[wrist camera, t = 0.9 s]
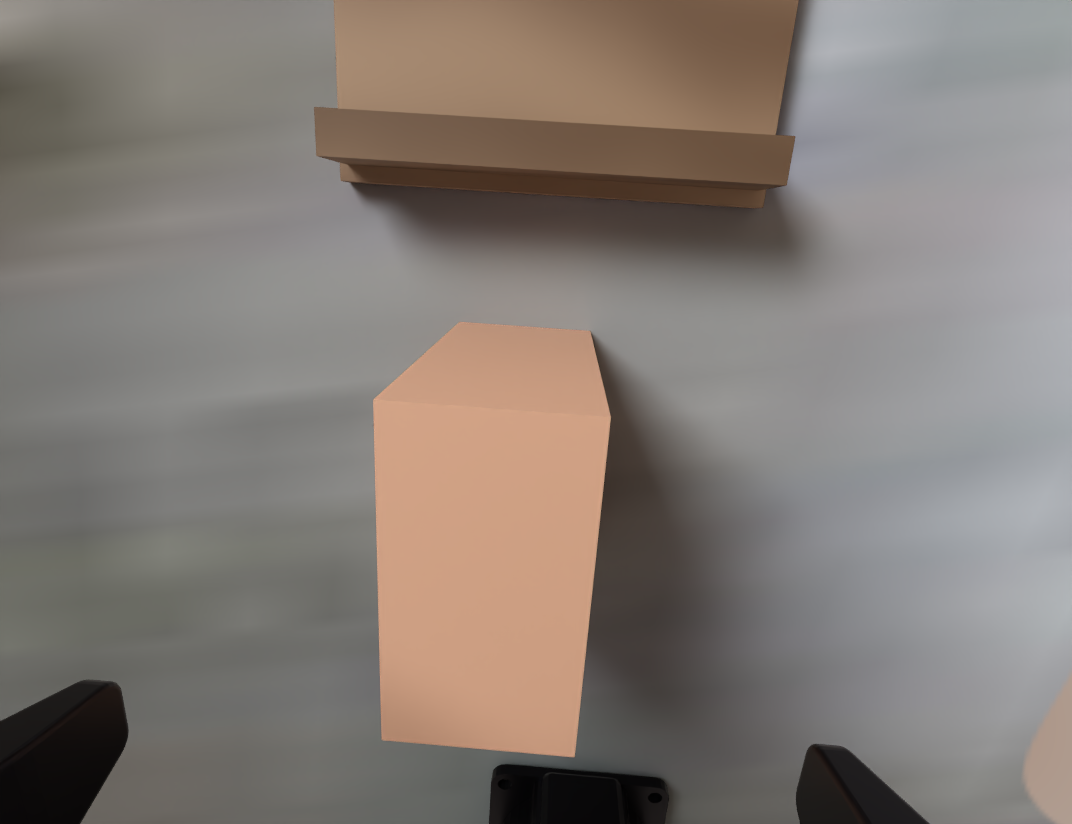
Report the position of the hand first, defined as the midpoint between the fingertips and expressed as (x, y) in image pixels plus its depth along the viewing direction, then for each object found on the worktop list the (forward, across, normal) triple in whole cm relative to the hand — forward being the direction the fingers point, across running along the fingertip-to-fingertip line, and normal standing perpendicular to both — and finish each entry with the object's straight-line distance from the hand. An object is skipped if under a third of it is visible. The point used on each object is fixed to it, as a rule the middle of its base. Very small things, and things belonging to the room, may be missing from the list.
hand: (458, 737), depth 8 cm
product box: (+11, 0, 0) cm, 11 cm away
